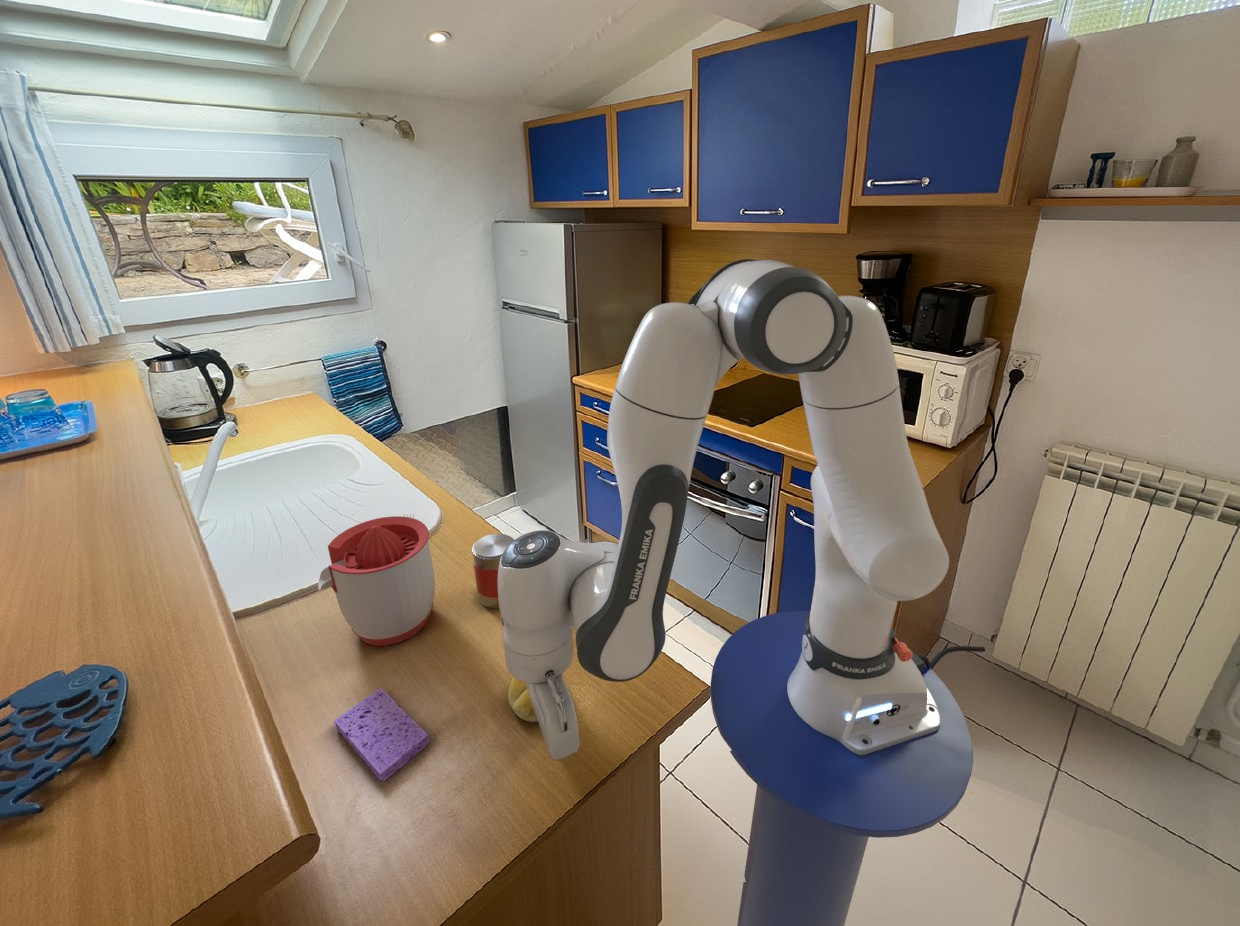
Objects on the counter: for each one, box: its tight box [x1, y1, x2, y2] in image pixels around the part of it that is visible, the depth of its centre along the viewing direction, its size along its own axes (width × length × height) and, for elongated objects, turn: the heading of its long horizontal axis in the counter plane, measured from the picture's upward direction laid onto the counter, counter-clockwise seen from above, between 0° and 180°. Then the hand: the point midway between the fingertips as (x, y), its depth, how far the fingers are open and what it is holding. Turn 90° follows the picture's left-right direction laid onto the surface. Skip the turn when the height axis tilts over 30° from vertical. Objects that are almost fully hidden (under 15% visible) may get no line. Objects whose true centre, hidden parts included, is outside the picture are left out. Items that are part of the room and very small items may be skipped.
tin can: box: [471, 533, 515, 609], centre depth 100 cm, size 8×8×11 cm
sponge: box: [333, 687, 431, 783], centre depth 75 cm, size 7×13×2 cm, turn 53°
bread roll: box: [507, 676, 539, 723], centre depth 80 cm, size 8×9×4 cm
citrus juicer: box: [317, 515, 436, 646], centre depth 91 cm, size 16×17×20 cm
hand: (545, 721), depth 76 cm, fingers closed
